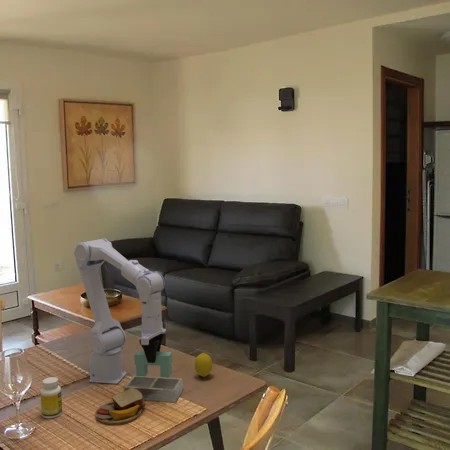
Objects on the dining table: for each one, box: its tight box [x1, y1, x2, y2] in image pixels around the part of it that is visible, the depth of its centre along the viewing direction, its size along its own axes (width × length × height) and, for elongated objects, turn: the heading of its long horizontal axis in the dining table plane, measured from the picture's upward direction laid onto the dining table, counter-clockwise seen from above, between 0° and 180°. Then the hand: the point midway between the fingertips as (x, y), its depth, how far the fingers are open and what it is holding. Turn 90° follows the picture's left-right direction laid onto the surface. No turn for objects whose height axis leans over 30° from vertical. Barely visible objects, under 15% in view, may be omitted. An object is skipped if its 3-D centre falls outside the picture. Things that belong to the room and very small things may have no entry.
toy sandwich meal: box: [94, 388, 146, 425], centre depth 142 cm, size 12×14×5 cm
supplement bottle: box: [39, 376, 63, 419], centre depth 142 cm, size 5×5×10 cm
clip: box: [134, 350, 173, 378], centre depth 152 cm, size 10×3×6 cm, turn 80°
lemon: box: [194, 352, 213, 378], centre depth 164 cm, size 6×6×8 cm
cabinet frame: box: [123, 375, 184, 403], centre depth 153 cm, size 15×8×4 cm, turn 80°
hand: (153, 359), depth 152 cm, fingers closed on clip, 3 cm apart
